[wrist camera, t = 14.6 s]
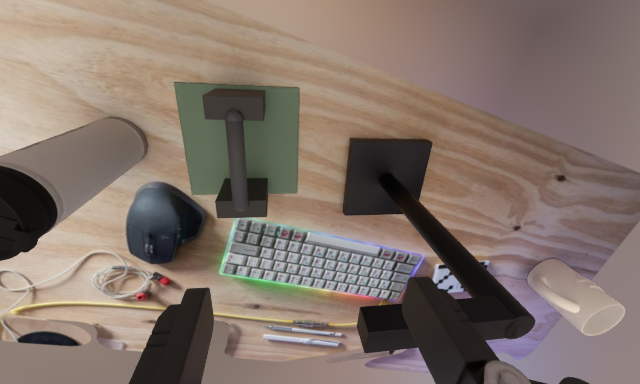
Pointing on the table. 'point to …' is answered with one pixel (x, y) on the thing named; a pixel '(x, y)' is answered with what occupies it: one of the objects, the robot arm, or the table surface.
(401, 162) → the stand
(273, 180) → the desk mat
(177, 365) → the robot arm
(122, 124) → the travel mug
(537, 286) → the mug
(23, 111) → the table surface
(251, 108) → the square-ended dumbbell
